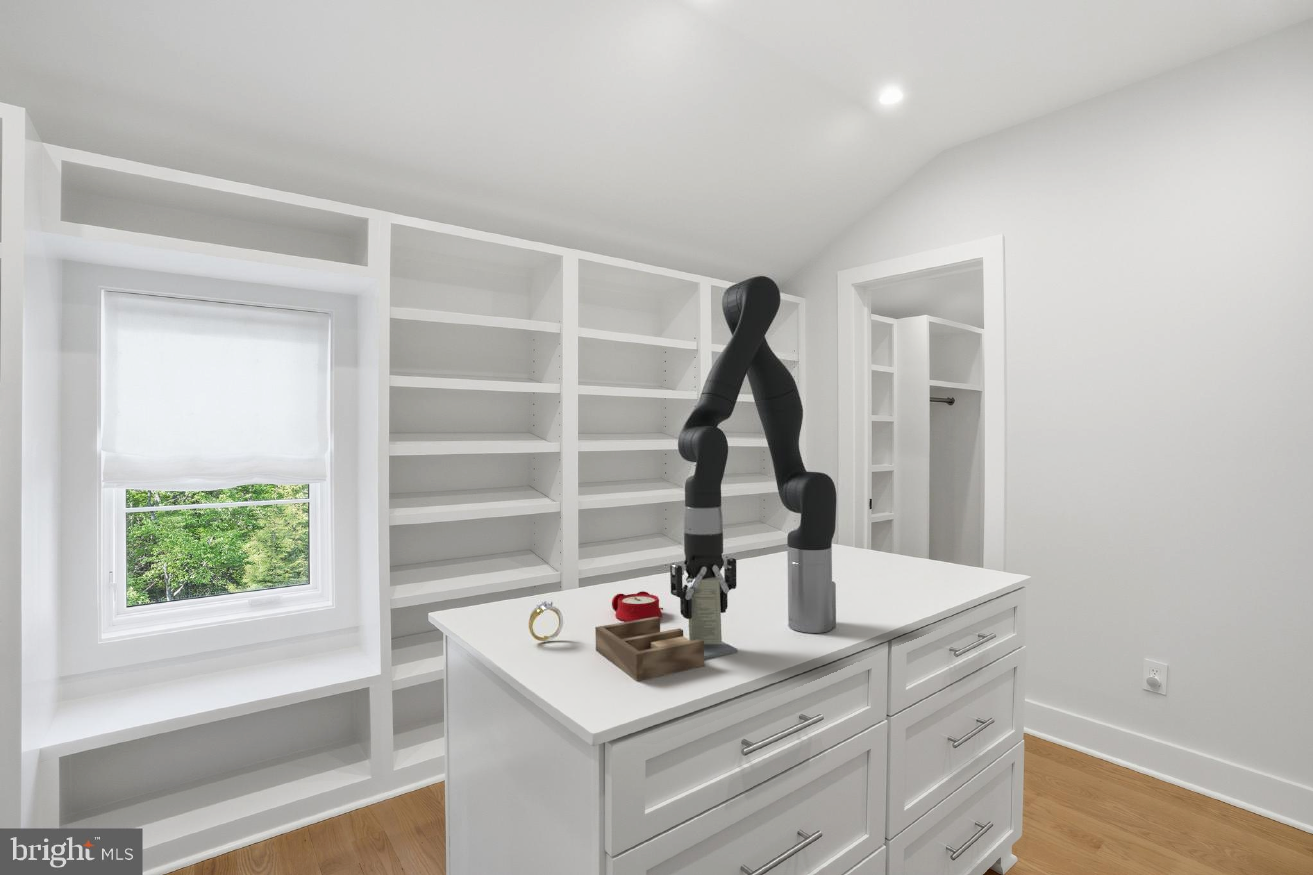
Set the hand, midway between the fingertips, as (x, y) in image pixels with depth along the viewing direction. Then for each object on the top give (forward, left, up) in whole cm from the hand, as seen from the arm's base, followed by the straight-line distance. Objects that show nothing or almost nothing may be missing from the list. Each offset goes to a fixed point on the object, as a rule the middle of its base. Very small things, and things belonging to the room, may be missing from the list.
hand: (704, 614), depth 119 cm
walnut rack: (+11, -2, -7) cm, 13 cm away
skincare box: (0, 0, -5) cm, 5 cm away
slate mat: (0, 0, -7) cm, 7 cm away
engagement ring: (+25, -20, -7) cm, 33 cm away
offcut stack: (+9, +3, -7) cm, 11 cm away
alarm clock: (+1, -28, -7) cm, 29 cm away
